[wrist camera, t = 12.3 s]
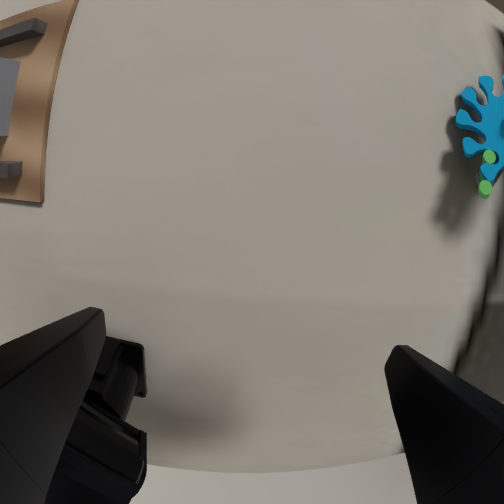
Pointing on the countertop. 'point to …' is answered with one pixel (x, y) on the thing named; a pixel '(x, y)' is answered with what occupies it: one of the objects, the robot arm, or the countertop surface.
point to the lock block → (7, 91)
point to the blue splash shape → (485, 134)
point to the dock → (31, 95)
